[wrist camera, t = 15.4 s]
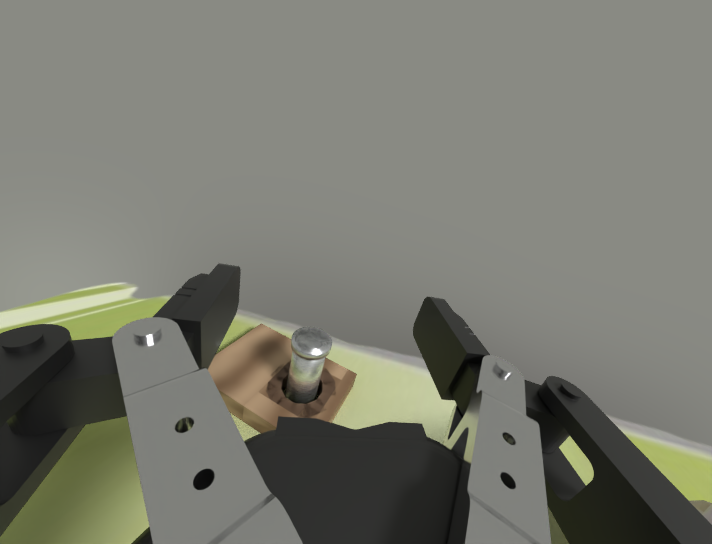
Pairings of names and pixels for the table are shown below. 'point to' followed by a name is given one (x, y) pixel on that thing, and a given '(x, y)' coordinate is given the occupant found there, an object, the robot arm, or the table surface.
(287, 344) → the block
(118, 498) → the table surface
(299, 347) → the silver metal peg
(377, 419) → the table surface
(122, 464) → the table surface
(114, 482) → the table surface
